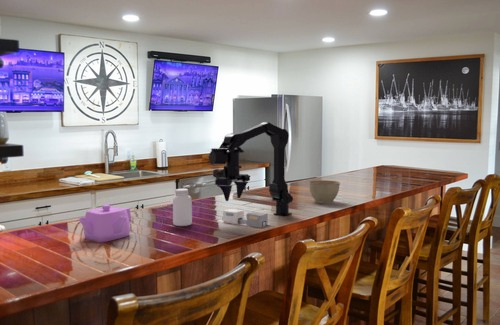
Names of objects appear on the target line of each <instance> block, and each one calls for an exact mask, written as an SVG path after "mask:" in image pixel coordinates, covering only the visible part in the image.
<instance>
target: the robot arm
mask: <svg viewBox="0 0 500 325" xmlns="http://www.w3.org/2000/svg"><path fill="white" fill-rule="evenodd" d="M264 133H265V135H266V136H268V137H270V138H269V139H270V143H271V145H272V148H273V180H272V182H270V183H268V186H269V189H268V192H269V194H270V195H269V196H271V197H272V200H273V201H274V202H275V212H273V214H274V215H275V216H280V215H283V216H282V217H286V215H287V216H290V215H292V212H290V206H289V204H290V203H292V202H293V200H294V197H293V196H292V195H291V194H290V193H289V187H288V184H287V182H286V180H285V172H286V171H285V168H286V166H285V163H286V161H285V160H286V158H285V157H286V156H285V154H286V151H285V150H286V147H287V145H288V143H289V135H290V134H289V131H288V130H287V129H285V128H281V127H279V126H276V125H274V124H273V123H271V122H267V121H266V122H265V121H263V122H261V123H259V124H257V125H255V126H252V127H249V128H247V129H245V130H242V131H238V132H231V133H227V134H226V135H225V136H224V138H223V141H222V143H221V144H220V146H219V147H218V148H215V147H214V148H210V150H211V151H210V153H209V155H208V162H209V163H210V165H213V166H214V165H223V169H221V170H220V169H218V168H216V169H213V171H212V177H213V178H215V179H214V184H215V185H216V186H217V187H218V188H220V190H221V191H222V194H223V196H224V197H223V198H224V200H225V202H229V199H230V196H231V191H232V188H233V185H232V184H235V186H236V196H237V199H240V198H241V197H242V195H243V192H244V190H245V188H246V187H247V184H248V183H249V182H250V180H251V179H250V178H251V177H250V175H249V174H247V173H246V174H245V173H240V169H241V168H242V165H240V153H241V154H242V153H244V152H245V151H244V150H243V149H242V148H241V146H242V145H244V144H245V143H246V142H247V141H248V140H250V139H253V138H255V137H259V136H260V135H263V134H264ZM224 164H225V165H224ZM289 214H290V215H289Z"/></svg>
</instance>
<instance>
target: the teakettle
mask: <svg viewBox="0 0 500 325" xmlns="http://www.w3.org/2000/svg"><path fill="white" fill-rule="evenodd" d="M131 216H132V215H131V208H129V207H125V208H121V207H117V206H116V207H114V206H111V205H110V204H104V205H101V208H91V209H90V210H87V211H86V212H85V215H84V216H82V217H79V218H78V220H79V223H80V224H81V225H82V228H83V235H84V237H85V238H84V239H87V240H90V241H94V242H96V243H107V242H109V241H110V242H111V241H115V240H118V239H122V238H125V237H129V236H130V233H131V226H130V223H132V217H131Z"/></svg>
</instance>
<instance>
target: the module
mask: <svg viewBox="0 0 500 325" xmlns="http://www.w3.org/2000/svg"><path fill="white" fill-rule="evenodd" d="M244 213H245V210H242V209H236V208H228V209H225V210H223V211H222V217H223V221H224V222H223V223H225V222H231V223H230V224H232V223H238V218H242V219H245V214H244Z"/></svg>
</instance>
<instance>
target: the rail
mask: <svg viewBox="0 0 500 325" xmlns="http://www.w3.org/2000/svg"><path fill="white" fill-rule="evenodd" d="M217 222H219V223H227V224H233V225H239V226H246V227H247V226H248V227H253V228H259V226H252V225H247V218H244V219H242V218H238V223H231V222H224V221H223V216H222V219H220V220H218V221H217ZM268 225H270V223H268V224H267V225H265V222H264V221H263V222H262V226H261V227H260V228H263V227H266V226H268Z"/></svg>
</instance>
